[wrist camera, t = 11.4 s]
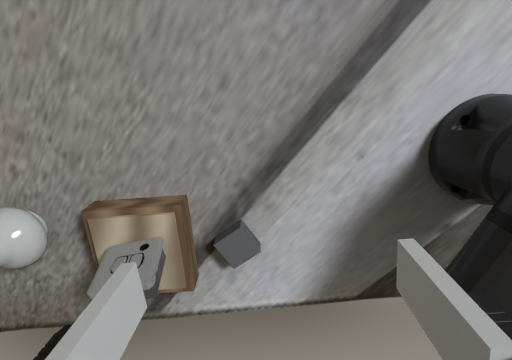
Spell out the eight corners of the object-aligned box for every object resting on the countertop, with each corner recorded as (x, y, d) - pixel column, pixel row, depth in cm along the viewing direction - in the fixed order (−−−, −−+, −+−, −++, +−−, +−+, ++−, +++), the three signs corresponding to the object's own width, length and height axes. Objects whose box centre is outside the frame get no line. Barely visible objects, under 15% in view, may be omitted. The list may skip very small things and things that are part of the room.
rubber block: (241, 218, 49) (240, 227, 46) (260, 241, 50) (260, 251, 47) (215, 235, 50) (213, 245, 47) (235, 258, 51) (233, 269, 48)
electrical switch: (164, 234, 44) (146, 273, 37) (174, 260, 46) (159, 303, 38) (108, 245, 45) (78, 286, 37) (120, 270, 47) (94, 314, 39)
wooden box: (186, 195, 47) (179, 206, 43) (198, 275, 51) (193, 293, 47) (94, 201, 48) (78, 213, 43) (114, 280, 52) (100, 298, 47)
